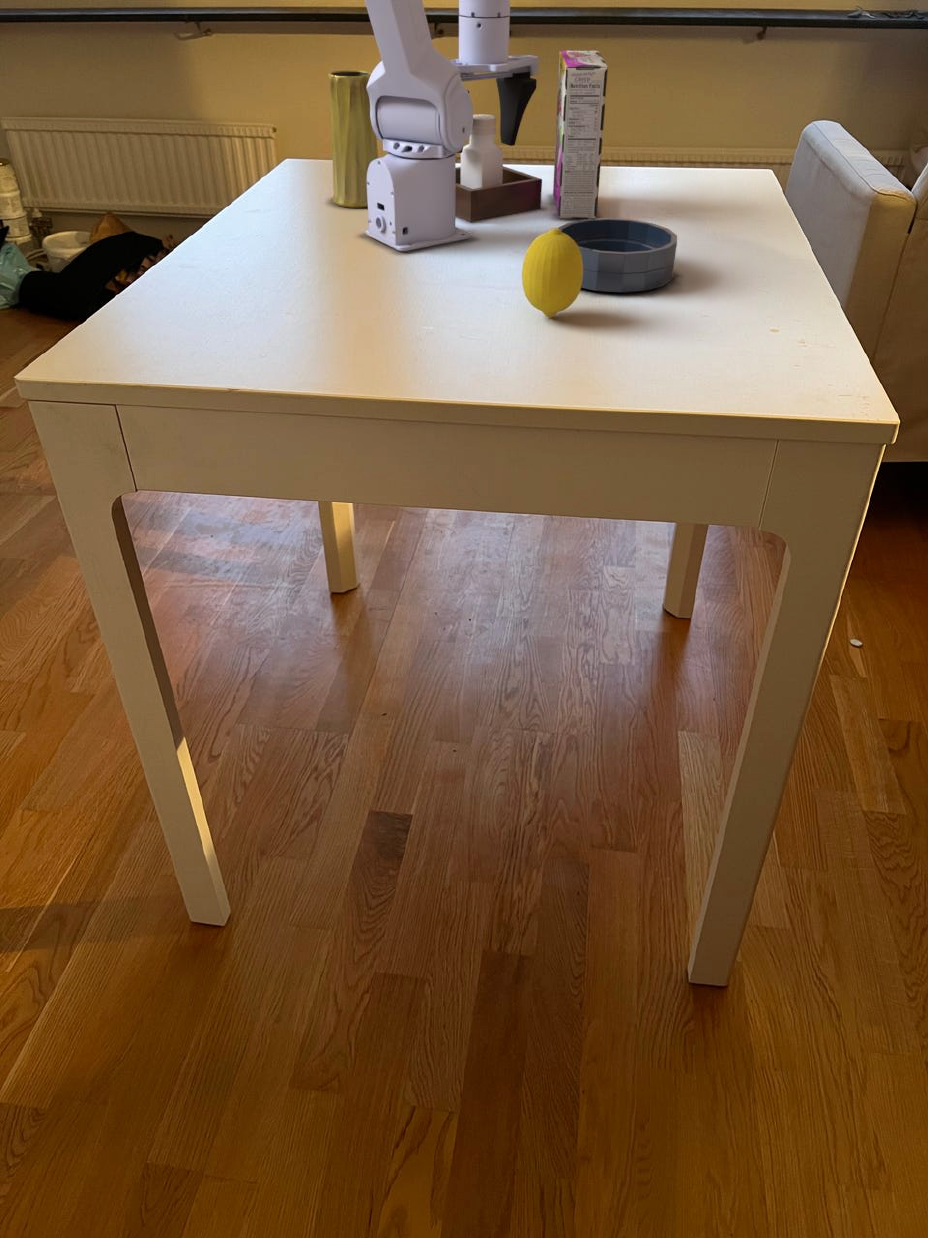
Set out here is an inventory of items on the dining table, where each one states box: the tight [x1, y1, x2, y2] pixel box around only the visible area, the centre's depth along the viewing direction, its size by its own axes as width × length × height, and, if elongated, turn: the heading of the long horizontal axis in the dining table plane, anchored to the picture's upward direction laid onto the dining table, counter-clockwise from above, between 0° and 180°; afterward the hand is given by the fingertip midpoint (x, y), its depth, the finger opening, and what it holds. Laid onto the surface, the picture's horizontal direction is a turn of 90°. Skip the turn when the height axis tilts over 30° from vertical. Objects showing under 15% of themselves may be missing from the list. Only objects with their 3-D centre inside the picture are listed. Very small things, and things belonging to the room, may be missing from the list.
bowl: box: [557, 217, 678, 293], centre depth 98 cm, size 12×12×4 cm
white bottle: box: [460, 113, 504, 189], centre depth 117 cm, size 4×4×10 cm
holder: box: [455, 165, 543, 223], centre depth 119 cm, size 11×11×4 cm
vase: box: [327, 69, 379, 209], centre depth 117 cm, size 6×6×14 cm
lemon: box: [521, 227, 583, 319], centre depth 87 cm, size 6×6×8 cm
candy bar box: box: [552, 49, 609, 221], centre depth 115 cm, size 11×5×16 cm, turn 179°
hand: (482, 147), depth 116 cm, fingers open, 7 cm apart
